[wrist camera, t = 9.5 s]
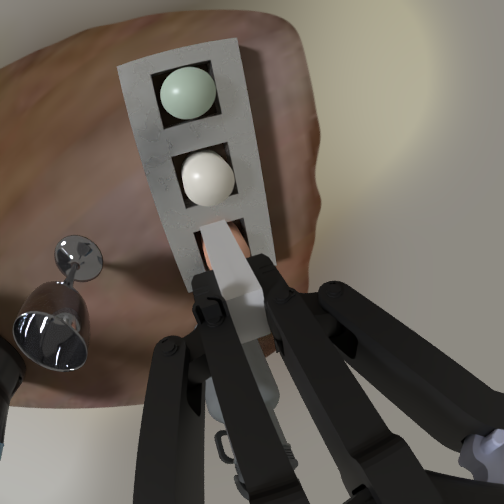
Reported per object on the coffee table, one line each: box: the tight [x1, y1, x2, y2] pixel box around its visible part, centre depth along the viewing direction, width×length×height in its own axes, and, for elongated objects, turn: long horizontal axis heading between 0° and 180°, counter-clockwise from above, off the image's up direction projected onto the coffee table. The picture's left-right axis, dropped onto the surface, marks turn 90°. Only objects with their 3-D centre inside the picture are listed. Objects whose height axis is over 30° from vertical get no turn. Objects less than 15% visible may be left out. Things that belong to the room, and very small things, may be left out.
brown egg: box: [201, 221, 250, 270], centre depth 34 cm, size 5×5×5 cm
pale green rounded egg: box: [160, 67, 216, 119], centre depth 24 cm, size 5×5×5 cm
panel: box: [117, 38, 277, 293], centre depth 30 cm, size 12×28×3 cm, turn 10°
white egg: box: [181, 149, 235, 206], centre depth 29 cm, size 5×5×5 cm
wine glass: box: [13, 235, 103, 372], centre depth 26 cm, size 8×8×15 cm
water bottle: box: [194, 324, 301, 500], centre depth 34 cm, size 10×10×28 cm
